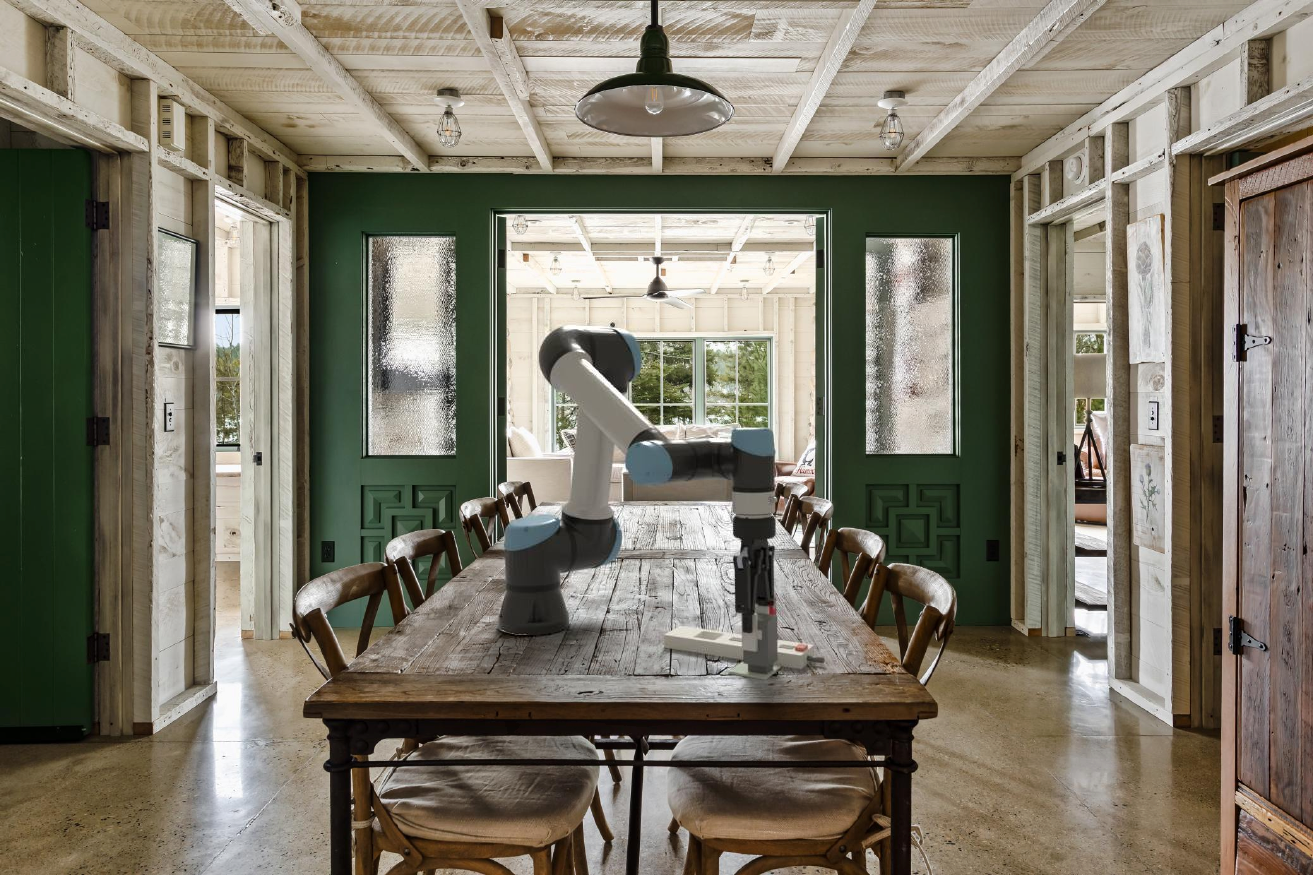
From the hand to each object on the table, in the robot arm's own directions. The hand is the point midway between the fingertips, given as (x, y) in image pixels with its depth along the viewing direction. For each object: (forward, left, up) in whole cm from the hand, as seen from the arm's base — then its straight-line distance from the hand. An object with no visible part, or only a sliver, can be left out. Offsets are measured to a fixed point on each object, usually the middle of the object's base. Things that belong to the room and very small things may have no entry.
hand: (755, 645), depth 145 cm
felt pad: (0, 0, -5) cm, 5 cm away
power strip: (-6, +8, -5) cm, 11 cm away
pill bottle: (-8, +23, -5) cm, 25 cm away
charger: (+1, 0, -4) cm, 4 cm away
